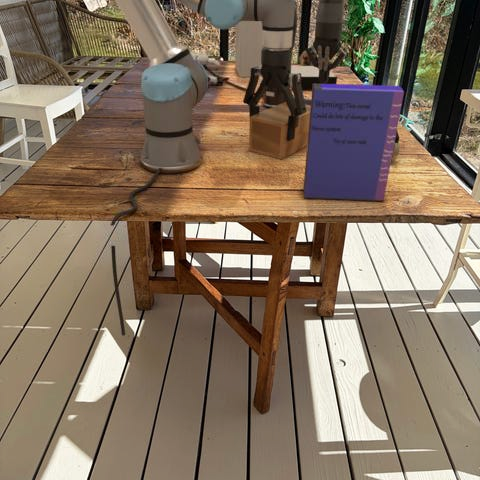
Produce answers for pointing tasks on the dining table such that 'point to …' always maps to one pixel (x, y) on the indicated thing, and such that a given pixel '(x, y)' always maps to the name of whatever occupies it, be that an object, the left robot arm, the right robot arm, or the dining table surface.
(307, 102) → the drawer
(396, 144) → the figurine character
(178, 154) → the left robot arm
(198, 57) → the toy
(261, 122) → the brown rectangular block
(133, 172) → the dining table surface
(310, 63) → the anatomical model
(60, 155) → the dining table surface
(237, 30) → the tall white box
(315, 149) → the purple hardcover book
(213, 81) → the figurine
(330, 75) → the disc drive
